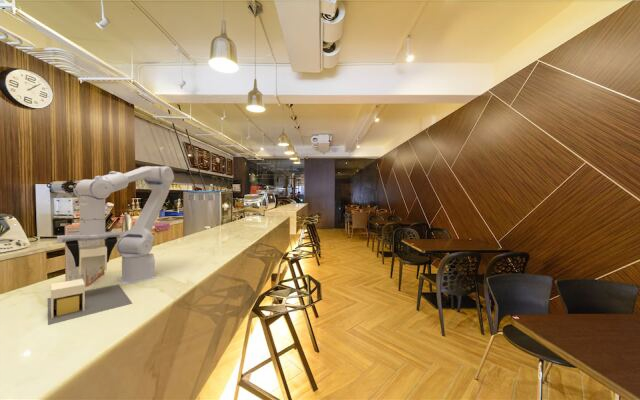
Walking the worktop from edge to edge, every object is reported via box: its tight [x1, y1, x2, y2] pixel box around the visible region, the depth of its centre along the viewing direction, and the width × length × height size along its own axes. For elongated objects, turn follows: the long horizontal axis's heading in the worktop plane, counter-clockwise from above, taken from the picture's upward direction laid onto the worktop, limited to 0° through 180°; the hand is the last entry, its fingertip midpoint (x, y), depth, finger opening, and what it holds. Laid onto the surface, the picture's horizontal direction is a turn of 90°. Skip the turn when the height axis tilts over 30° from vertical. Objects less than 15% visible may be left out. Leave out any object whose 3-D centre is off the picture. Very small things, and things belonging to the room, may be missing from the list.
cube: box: [56, 294, 79, 316], centre depth 64 cm, size 4×4×4 cm
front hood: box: [50, 279, 86, 319], centre depth 64 cm, size 6×6×7 cm
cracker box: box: [64, 222, 106, 288], centre depth 85 cm, size 14×6×21 cm, turn 23°
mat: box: [47, 284, 133, 326], centre depth 70 cm, size 16×20×1 cm
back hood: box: [78, 243, 108, 275], centre depth 74 cm, size 6×6×7 cm
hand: (92, 263), depth 74 cm, fingers closed on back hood, 6 cm apart
